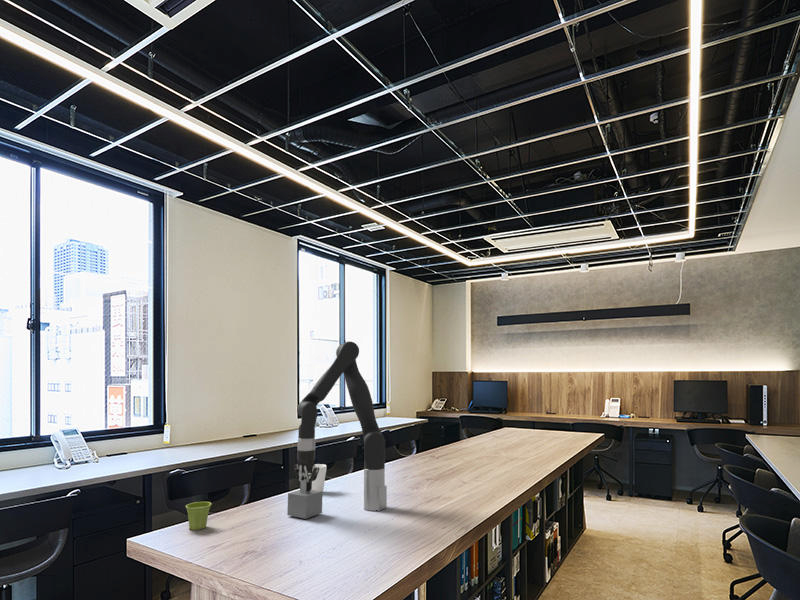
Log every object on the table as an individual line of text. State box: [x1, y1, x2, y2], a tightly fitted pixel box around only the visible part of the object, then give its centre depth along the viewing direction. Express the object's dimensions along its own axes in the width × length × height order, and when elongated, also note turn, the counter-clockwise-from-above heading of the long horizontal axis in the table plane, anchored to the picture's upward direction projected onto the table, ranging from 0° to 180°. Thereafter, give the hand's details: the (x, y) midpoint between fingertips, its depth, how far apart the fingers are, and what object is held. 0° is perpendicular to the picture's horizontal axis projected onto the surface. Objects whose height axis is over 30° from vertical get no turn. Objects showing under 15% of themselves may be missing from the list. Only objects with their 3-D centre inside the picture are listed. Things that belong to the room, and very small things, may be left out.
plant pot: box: [185, 501, 212, 531], centre depth 198 cm, size 9×9×9 cm
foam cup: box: [309, 463, 327, 494], centre depth 255 cm, size 10×9×13 cm
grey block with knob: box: [286, 478, 323, 519], centre depth 214 cm, size 10×10×14 cm
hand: (305, 490), depth 215 cm, fingers closed on grey block with knob, 3 cm apart
